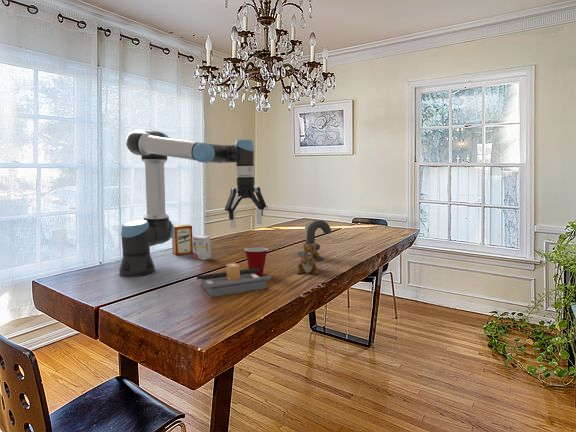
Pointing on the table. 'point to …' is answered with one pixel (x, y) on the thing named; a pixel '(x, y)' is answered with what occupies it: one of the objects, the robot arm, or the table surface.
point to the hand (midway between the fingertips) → (246, 225)
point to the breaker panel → (232, 288)
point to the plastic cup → (256, 258)
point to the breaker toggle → (233, 271)
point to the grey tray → (232, 281)
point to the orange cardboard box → (182, 240)
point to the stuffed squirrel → (308, 260)
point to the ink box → (201, 247)
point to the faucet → (311, 235)
